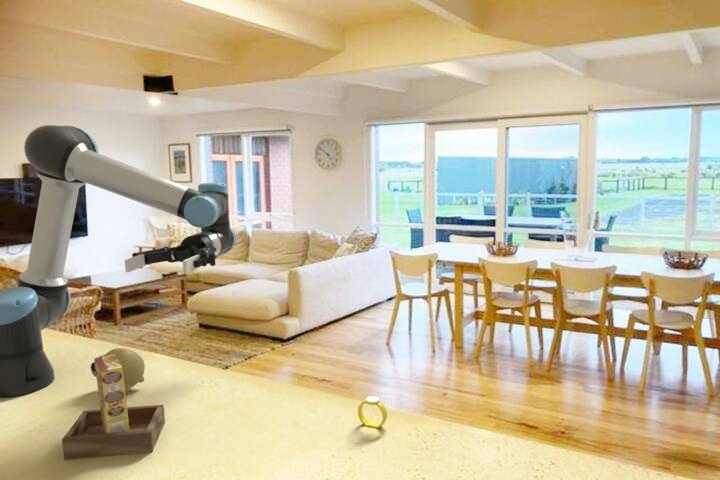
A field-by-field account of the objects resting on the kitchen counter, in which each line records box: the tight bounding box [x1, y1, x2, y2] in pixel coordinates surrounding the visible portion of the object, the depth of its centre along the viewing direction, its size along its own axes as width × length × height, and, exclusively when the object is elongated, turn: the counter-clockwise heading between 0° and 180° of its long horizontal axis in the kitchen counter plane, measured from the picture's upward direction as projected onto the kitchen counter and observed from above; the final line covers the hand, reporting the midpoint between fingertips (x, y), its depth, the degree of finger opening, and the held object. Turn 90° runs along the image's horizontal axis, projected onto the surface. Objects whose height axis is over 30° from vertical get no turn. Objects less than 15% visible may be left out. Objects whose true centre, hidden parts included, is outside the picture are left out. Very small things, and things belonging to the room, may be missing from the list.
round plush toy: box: [90, 347, 146, 393], centre depth 139 cm, size 10×12×11 cm
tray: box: [61, 404, 166, 461], centre depth 116 cm, size 12×16×4 cm
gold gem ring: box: [357, 395, 388, 429], centre depth 119 cm, size 6×3×6 cm, turn 64°
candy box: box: [93, 354, 130, 434], centre depth 114 cm, size 9×4×15 cm, turn 32°
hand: (155, 266), depth 125 cm, fingers open, 13 cm apart
